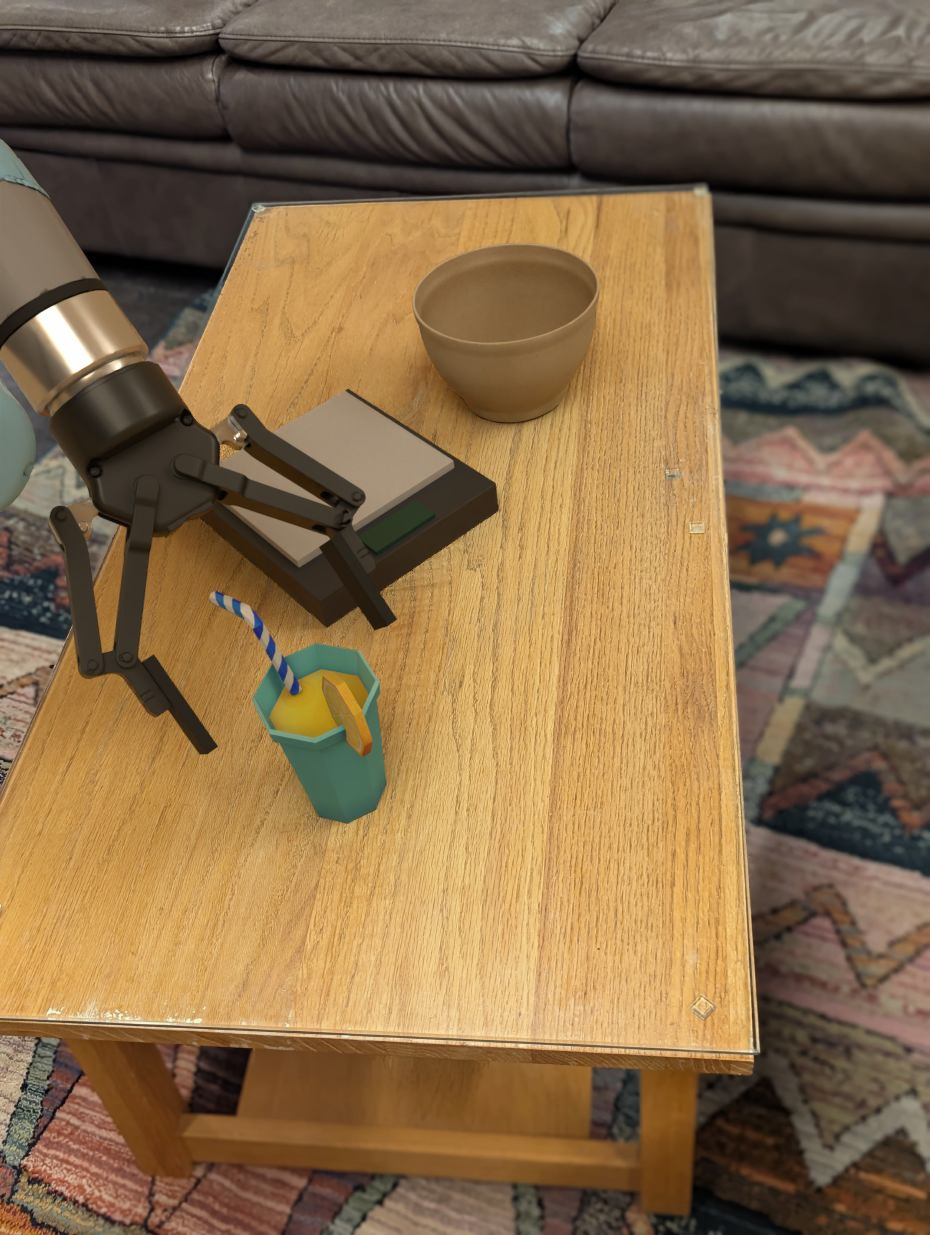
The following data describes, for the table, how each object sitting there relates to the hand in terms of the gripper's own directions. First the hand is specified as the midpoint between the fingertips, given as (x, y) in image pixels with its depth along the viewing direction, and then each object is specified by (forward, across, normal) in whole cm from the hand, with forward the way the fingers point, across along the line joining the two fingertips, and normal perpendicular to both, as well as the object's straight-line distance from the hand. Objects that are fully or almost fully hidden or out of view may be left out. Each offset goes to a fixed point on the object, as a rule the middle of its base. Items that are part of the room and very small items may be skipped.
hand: (301, 686), depth 66 cm
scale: (-8, -17, -21) cm, 28 cm away
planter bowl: (-9, -38, -22) cm, 45 cm away
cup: (+7, 0, -6) cm, 9 cm away
